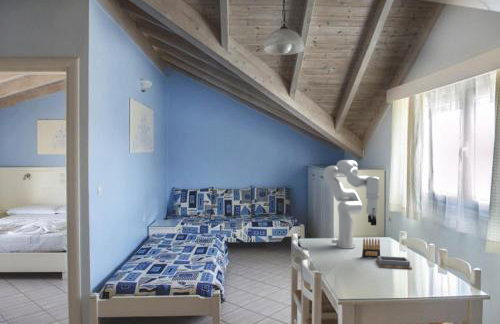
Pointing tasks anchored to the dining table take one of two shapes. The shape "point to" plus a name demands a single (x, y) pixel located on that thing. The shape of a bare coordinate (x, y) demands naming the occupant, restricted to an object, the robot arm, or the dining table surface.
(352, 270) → the dining table surface
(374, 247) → the ammunition clip
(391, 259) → the pocket board
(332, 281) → the dining table surface
